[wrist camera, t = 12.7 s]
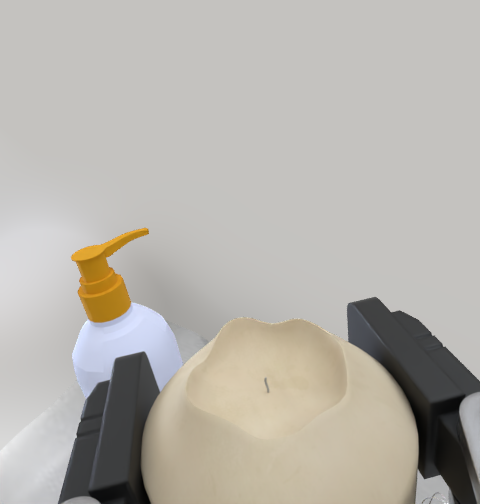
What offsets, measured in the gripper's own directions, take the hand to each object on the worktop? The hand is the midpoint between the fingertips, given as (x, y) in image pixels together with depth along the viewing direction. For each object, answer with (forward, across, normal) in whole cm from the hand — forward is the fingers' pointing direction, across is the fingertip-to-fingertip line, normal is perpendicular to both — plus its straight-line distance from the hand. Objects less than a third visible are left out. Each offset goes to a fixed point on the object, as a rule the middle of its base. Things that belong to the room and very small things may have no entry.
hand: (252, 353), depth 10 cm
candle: (-3, 0, +8) cm, 9 cm away
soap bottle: (+20, +9, +28) cm, 35 cm away
